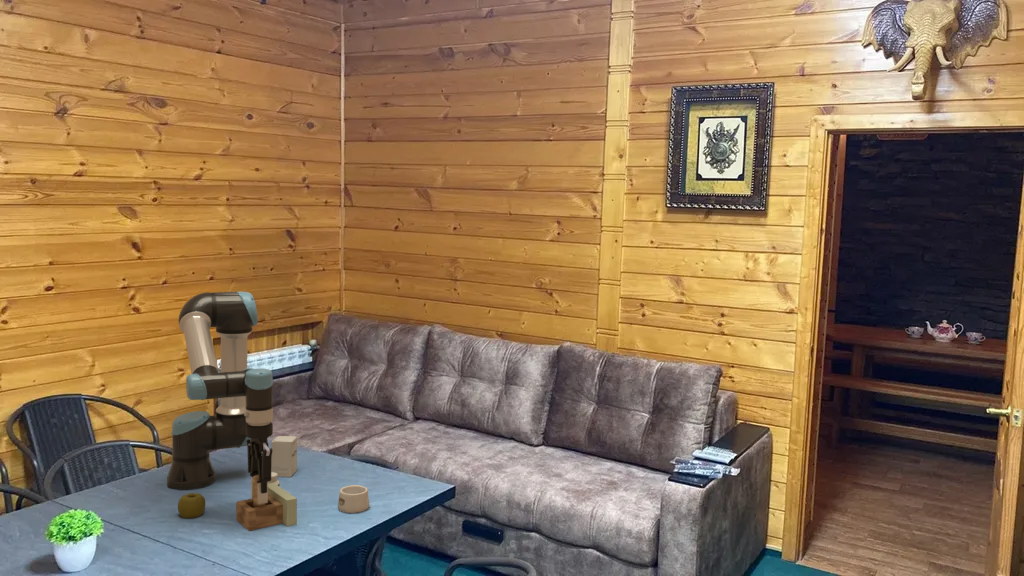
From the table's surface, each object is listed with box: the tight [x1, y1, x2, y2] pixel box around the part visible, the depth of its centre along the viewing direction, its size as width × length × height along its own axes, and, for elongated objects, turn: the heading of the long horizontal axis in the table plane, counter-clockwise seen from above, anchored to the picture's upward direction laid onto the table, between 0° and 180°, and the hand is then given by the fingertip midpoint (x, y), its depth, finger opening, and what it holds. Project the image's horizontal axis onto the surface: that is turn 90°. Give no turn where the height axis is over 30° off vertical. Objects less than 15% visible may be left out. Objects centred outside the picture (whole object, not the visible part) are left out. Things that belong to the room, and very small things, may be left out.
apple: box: [177, 492, 207, 519], centre depth 238 cm, size 8×8×7 cm
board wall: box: [268, 483, 298, 527], centre depth 230 cm, size 16×28×9 cm, turn 129°
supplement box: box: [270, 435, 298, 478], centre depth 280 cm, size 7×7×13 cm
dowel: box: [253, 475, 266, 508], centre depth 233 cm, size 4×4×12 cm
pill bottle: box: [268, 472, 280, 487], centre depth 250 cm, size 6×6×10 cm
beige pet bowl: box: [337, 484, 370, 514], centre depth 250 cm, size 12×10×6 cm
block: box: [235, 495, 283, 532], centre depth 233 cm, size 10×10×6 cm
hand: (259, 500), depth 233 cm, fingers open, 4 cm apart
